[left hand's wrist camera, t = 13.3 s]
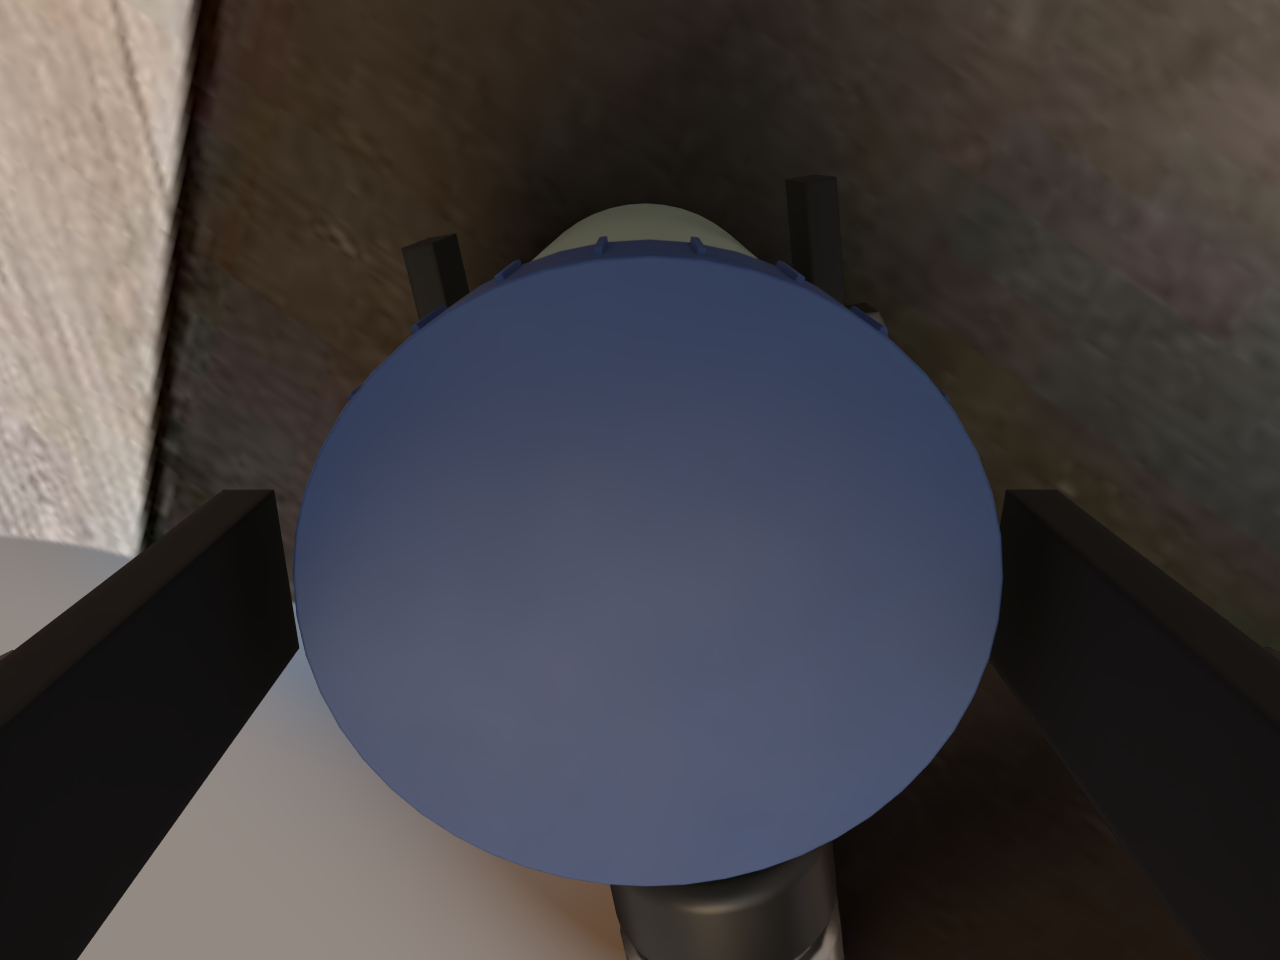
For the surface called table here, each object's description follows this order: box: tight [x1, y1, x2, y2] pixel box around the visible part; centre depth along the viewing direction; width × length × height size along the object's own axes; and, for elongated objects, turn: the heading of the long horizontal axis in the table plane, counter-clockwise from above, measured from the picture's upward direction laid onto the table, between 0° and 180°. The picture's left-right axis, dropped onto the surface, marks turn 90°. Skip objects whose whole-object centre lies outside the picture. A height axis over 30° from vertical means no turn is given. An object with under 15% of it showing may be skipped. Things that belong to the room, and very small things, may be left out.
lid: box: [293, 236, 1003, 886], centre depth 12 cm, size 9×9×2 cm
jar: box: [532, 203, 758, 261], centre depth 20 cm, size 9×9×18 cm
